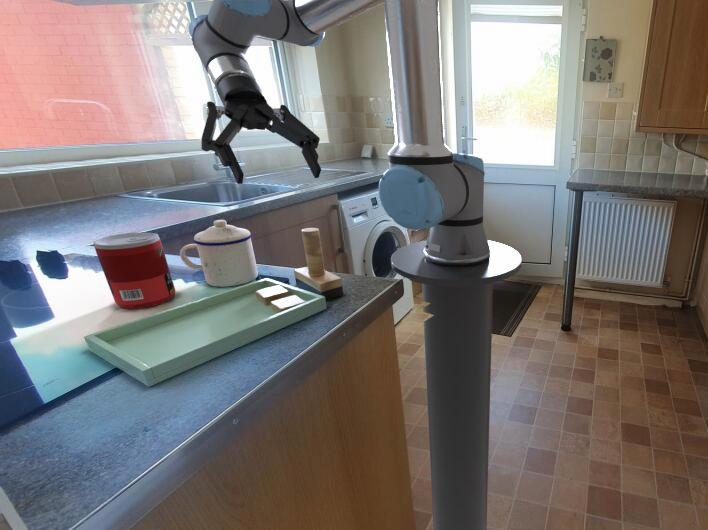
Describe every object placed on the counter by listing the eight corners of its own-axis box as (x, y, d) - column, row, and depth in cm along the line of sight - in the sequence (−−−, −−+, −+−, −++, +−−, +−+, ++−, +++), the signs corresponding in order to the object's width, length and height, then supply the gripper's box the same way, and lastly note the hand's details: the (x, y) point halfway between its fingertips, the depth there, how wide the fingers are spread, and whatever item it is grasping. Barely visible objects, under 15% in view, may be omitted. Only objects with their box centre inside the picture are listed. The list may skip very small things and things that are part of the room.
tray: (269, 289, 77) (266, 277, 76) (326, 308, 70) (325, 296, 69) (89, 350, 56) (83, 336, 55) (148, 387, 49) (142, 371, 48)
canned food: (185, 297, 72) (167, 237, 67) (127, 314, 65) (103, 248, 61) (165, 287, 75) (146, 229, 71) (108, 302, 69) (84, 239, 65)
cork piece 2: (296, 302, 70) (295, 294, 69) (307, 309, 68) (306, 301, 67) (271, 309, 67) (270, 301, 67) (282, 317, 65) (280, 309, 64)
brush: (316, 280, 81) (307, 222, 77) (343, 295, 76) (335, 233, 71) (296, 286, 78) (285, 226, 74) (322, 301, 73) (313, 237, 68)
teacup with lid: (264, 269, 86) (253, 214, 81) (254, 285, 78) (241, 226, 73) (196, 273, 82) (181, 215, 77) (178, 290, 74) (160, 228, 69)
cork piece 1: (280, 292, 74) (279, 284, 73) (290, 298, 71) (289, 291, 71) (256, 298, 71) (254, 290, 70) (265, 305, 68) (264, 297, 68)
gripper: (300, 106, 91) (340, 183, 88) (158, 100, 74) (202, 195, 71) (306, 78, 86) (350, 159, 82) (155, 65, 69) (202, 167, 65)
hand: (281, 176), depth 77 cm, fingers open, 13 cm apart
